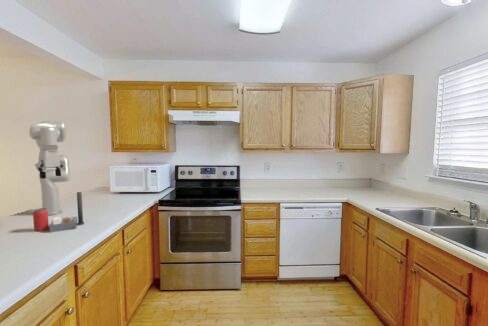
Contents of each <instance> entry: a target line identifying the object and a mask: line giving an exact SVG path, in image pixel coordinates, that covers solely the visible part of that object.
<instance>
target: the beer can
mask: <svg viewBox="0 0 488 326" xmlns="http://www.w3.org/2000/svg"><path fill="white" fill-rule="evenodd" d="M32 216H33V217H32V218H33V220H32V221H33V231H34V232H44V231H46V230H48V229H50V225H49V215H48V212H47V210H46V208H43V207H42V208H37V209H34V210H33V213H32Z"/></svg>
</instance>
